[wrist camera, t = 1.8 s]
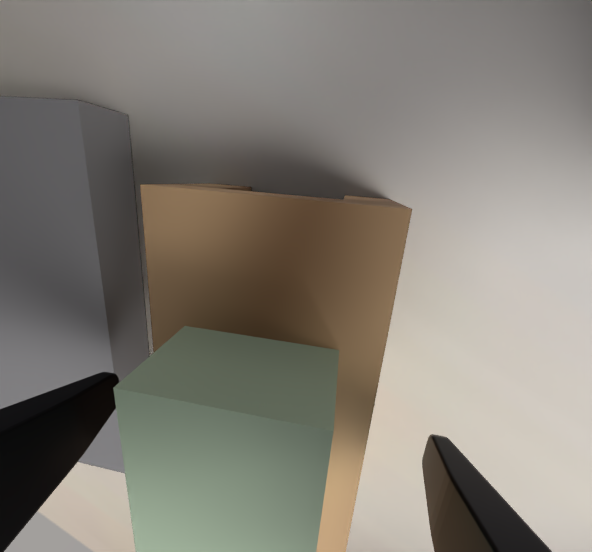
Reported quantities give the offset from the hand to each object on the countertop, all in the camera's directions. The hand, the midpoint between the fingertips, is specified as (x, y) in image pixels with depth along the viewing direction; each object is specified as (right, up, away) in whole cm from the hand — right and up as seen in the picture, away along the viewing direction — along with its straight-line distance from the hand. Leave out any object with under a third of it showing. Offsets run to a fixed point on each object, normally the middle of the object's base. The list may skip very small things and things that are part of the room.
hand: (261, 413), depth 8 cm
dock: (-11, +4, +5) cm, 13 cm away
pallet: (+1, +1, +4) cm, 4 cm away
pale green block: (0, 0, 0) cm, 0 cm away
